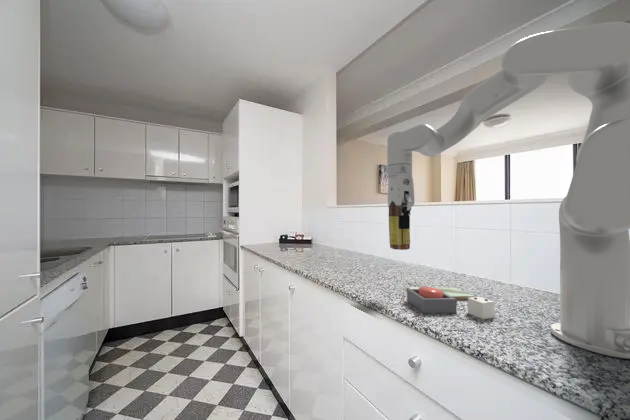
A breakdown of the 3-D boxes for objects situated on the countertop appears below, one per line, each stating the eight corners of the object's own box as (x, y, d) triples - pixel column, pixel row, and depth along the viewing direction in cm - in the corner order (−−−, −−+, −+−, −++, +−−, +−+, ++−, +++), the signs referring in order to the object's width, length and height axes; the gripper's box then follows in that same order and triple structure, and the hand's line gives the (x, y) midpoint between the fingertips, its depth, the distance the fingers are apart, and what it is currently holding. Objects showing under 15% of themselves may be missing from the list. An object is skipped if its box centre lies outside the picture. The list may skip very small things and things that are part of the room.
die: (494, 317, 61) (494, 300, 61) (482, 319, 60) (482, 301, 60) (478, 311, 65) (479, 295, 65) (467, 313, 64) (467, 296, 64)
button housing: (456, 312, 63) (456, 299, 64) (423, 313, 63) (423, 299, 63) (436, 300, 72) (436, 288, 72) (407, 301, 72) (407, 289, 72)
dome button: (447, 304, 65) (447, 293, 65) (425, 305, 64) (425, 293, 64) (434, 297, 71) (434, 286, 71) (414, 297, 70) (414, 286, 70)
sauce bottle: (407, 248, 80) (407, 187, 81) (412, 250, 74) (412, 185, 74) (386, 247, 81) (386, 187, 81) (390, 250, 74) (390, 185, 75)
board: (477, 299, 74) (477, 296, 74) (421, 300, 73) (421, 296, 73) (455, 289, 84) (455, 287, 84) (406, 290, 82) (406, 287, 83)
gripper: (425, 166, 70) (425, 229, 69) (399, 176, 87) (399, 227, 86) (399, 166, 69) (399, 229, 69) (378, 176, 86) (378, 227, 86)
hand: (399, 227), depth 77 cm, fingers closed on sauce bottle, 6 cm apart
